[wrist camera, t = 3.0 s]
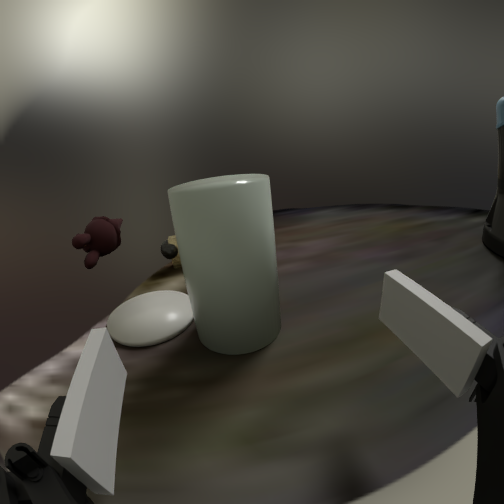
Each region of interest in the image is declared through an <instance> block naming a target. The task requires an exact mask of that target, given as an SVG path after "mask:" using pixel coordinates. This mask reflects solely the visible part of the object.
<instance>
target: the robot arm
mask: <svg viewBox="0 0 504 504" xmlns="http://www.w3.org/2000/svg"><path fill="white" fill-rule="evenodd" d="M496 111H497V125H496V129H498V183H497V193H496V196H495V199H494V201H493V204H492V207H491V209H490V212H489V214H488V216H487V219H486V221H485V224H484V228H483V236H482V240H483V242H484V244H485V245H486V246H487V247H488V248H489V249H491V250H492V251H494V252H495V253H497V254H498V255H500V256H502V257H504V97H502V98H501V99H499V101H498V102H497V106H496ZM379 319H380V320H381V321H382V322H383V323H384V324H385V325H386V326H387V327H388V328H389V329H390V330H391V331H392V332H393V333H394V334H395V335H396V336H397V337H398V338H399V339H400V340H401V341H402V342H403V343H404V344H405V345H406V346H407V347H408V348H409V349H410V350H412V351H413V352H414V353H415V354H416V355H417V356H418V357H419V358H420V360H421V361H422V362H423V363H424V364H425V365H426V366H427V367H428V368H429V369H430V370H431V371H432V372H433V373H434V374H435V375H436V376H437V377H438V378H439V379H440V380H441V381H442V382H443V383H444V384H445V385H446V386H447V387H448V388H449V389H450V390H451V391H452V392H453V393H454V394H455V396H456V397H457V398H458V397H460V396H461V395H462V394H464V393H465V392H467V391H468V390H469V389H470V387H471V385H472V383H473V381H474V380H475V381H477V382H478V384H477V385H476V387H475V389H474V391H473V393H472V395H471V396H470V399H469V402H471V401H472V399H473V398H474V396H475V395H476V399H475V400H474V402H477V423H478V451H477V470H476V482H475V491H474V498H473V504H504V336H502V337H500V338H497V337H496V336H495V335H493V334H492V333H491V332H489V331H488V330H487V329H485V328H484V327H483V326H481V325H480V324H479V323H477V322H475V320H473V319H472V318H469V316H468V315H467V314H465V313H464V312H463V311H461V310H458V309H456V308H453V307H450V306H448V305H447V304H446V303H444V302H443V301H441V300H440V299H439V298H437V297H436V296H434V295H433V294H431V293H430V292H429V291H427V290H426V289H424V288H423V287H421V286H420V285H419V284H417V283H416V282H414V281H413V280H411V279H410V278H408V277H407V276H405V275H404V274H402V273H401V272H399V271H398V270H392V271H388V272H385V273H384V282H383V291H382V299H381V307H380V314H379ZM126 376H127V372H126V370H125V368H124V366H123V364H122V362H121V359H120V357H119V355H118V353H117V351H116V349H115V346H114V344H113V342H112V339H111V337H110V335H109V332H108V330H107V327H106V328H98V329H92V330H91V332H90V335H89V337H88V339H87V342H86V344H85V347H84V349H83V352H82V354H81V357H80V360H79V362H78V365H77V368H76V370H75V373H74V376H73V379H72V382H71V385H70V388H69V390H68V393H67V396H59V397H58V398H57V399H56V401H55V402H54V403H53V405H52V406H51V409H50V412H49V415H48V417H49V418H47V421H46V427H45V428H44V431H43V434H42V438H41V441H40V445H39V449H38V452H36V451H35V450H34V449H33V448H32V447H31V446H29V445H27V444H26V443H18V444H15V445H13V446H12V447H11V448H10V449H9V450H8V452H7V453H6V456H5V466H6V468H8V469H9V470H10V472H6V471H5V470H4V469H3V468H1V466H0V504H94V503H93V502H92V500H91V499H90V498H89V497H88V496H87V495H86V489H87V488H88V489H90V490H91V491H92V492H93V493H95V494H104V495H114V480H115V465H116V453H117V442H118V433H119V424H120V416H121V409H122V402H123V395H124V388H125V382H126Z"/></svg>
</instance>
